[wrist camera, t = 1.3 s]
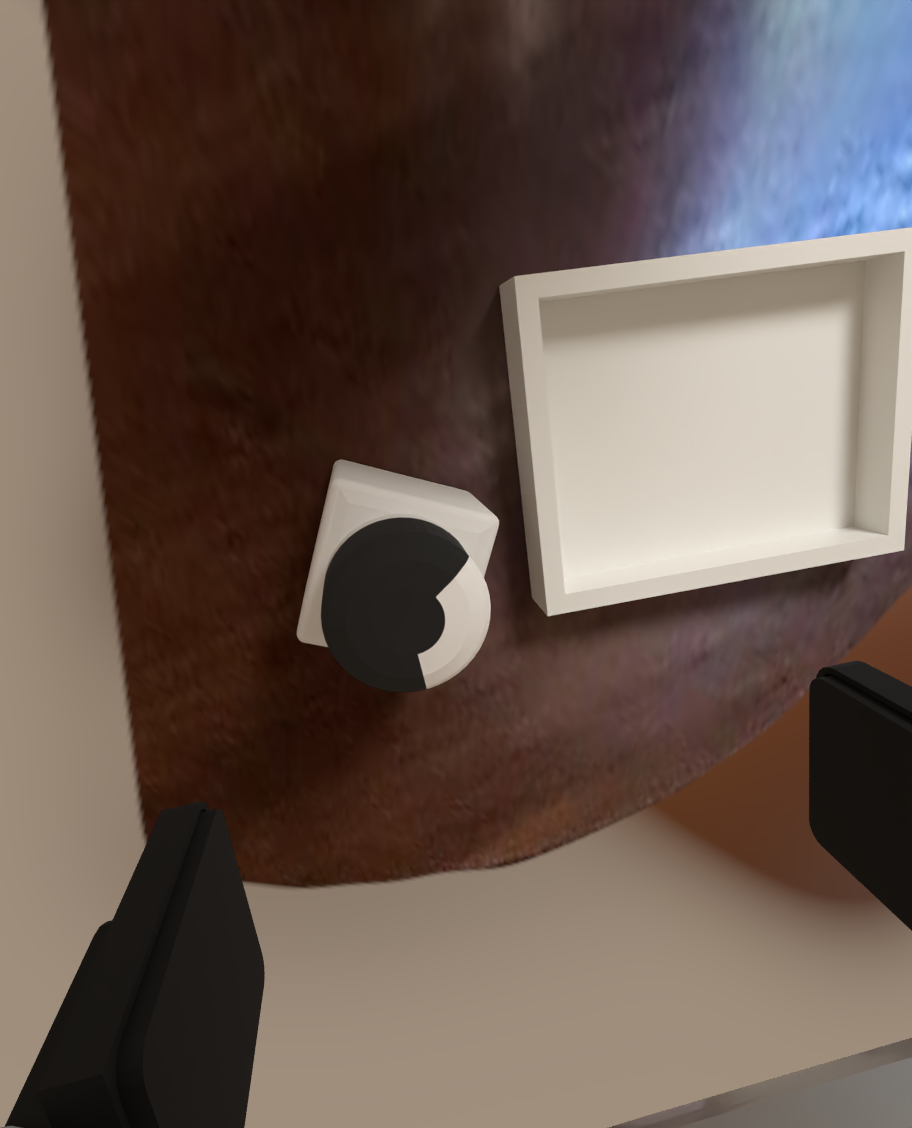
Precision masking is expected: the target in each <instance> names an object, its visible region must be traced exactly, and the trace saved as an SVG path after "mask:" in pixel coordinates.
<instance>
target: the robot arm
mask: <svg viewBox="0 0 912 1128" xmlns="http://www.w3.org/2000/svg"><path fill="white" fill-rule="evenodd" d="M809 695H810V696H809V697H810V703H809V704H810V705H809V706H810V707H809V708H810V709H809V718H810V720H809V721H810V722H809V727H810V728H809V736H810V737H809V821H810V826H811V830H812V832H813V834H814V836H815V838H816V839H817V841H818V842H819V843H820V844H821V846H822V847H823V848H825V849H826V850H827V851H828V852H829V853H830V854H831V855H832V856H833V857H834V858H835V859H836V860H837V861H838V862H839V863H840V864H841V865H842V866H844V867H845V868H846V869H847V870H848V871H849V872H850V873H851V874H852V875H853V876H854V877H855V878H856V879H857V880H858V881H859V882H861V883H862V884H863V885H864V886H865V887H866V888H867V889H868V890H869V891H870V892H871V893H872V894H874V896H875V897H877V898H878V899H879V900H880V901H881V902H882V903H883V904H884V905H885V906H886V907H887V908H888V909H889V910H891V912H892V913H894V914H895V915H896V916H897V917H898V918H899V919H900V920H901V921H902V922H903V923H904V924H905V925H906V926H907V927H909V928H910V929H911V930H912V687H911V686H909V685H907V684H905V683H903V682H901V681H899V680H897V679H895V678H893V677H891V676H889V675H888V674H885V673H884V672H882V671H880V670H878V669H876V668H874V667H872V666H870V665H868V664H866V663H864V662H860V661H852V662H847V663H842V664H838V665H833V666H829V667H824V668H822V669H821V670H819V672H818V674H817V677H816V679H814V680H813V681H812V682H811V684H810V694H809ZM263 989H264V962H263V956H262V952H261V948H260V944H259V941H258V937H257V934H256V930H255V926H254V923H253V919H252V915H251V912H250V908H249V905H248V901H247V897H246V894H245V890H244V886H243V883H242V879H241V875H240V872H239V868H238V864H237V861H236V857H235V853H234V850H233V846H232V843H231V839H230V835H229V832H228V828H227V824H226V821H225V817H224V814H223V812H222V810H221V809H219V808H218V809H214V810H210V809H209V807H208V805H207V804H206V803H205V802H204V801H202V802H198V803H193V804H188V805H184V806H179V807H175V808H170V809H165V810H163V811H162V812H161V814H160V815H159V817H158V819H157V822H156V824H155V826H154V828H153V831H152V833H151V835H150V837H149V840H148V842H147V844H146V846H145V849H144V851H143V853H142V855H141V858H140V860H139V862H138V864H137V867H136V869H135V871H134V873H133V876H132V878H131V880H130V882H129V885H128V887H127V889H126V891H125V894H124V896H123V898H122V900H121V903H120V905H119V907H118V909H117V911H116V914H115V916H114V918H113V920H112V921H108V922H106V923H104V924H103V925H101V926H100V927H99V929H98V930H97V932H96V933H95V935H94V937H93V939H92V941H91V943H90V946H89V948H88V950H87V952H86V954H85V956H84V958H83V960H82V962H81V965H80V967H79V969H78V971H77V973H76V975H75V977H74V979H73V982H72V984H71V986H70V988H69V990H68V992H67V994H66V997H65V999H64V1001H63V1003H62V1005H61V1007H60V1009H59V1012H58V1014H57V1016H56V1018H55V1020H54V1022H53V1024H52V1027H51V1029H50V1031H49V1033H48V1035H47V1037H46V1040H45V1042H44V1044H43V1046H42V1048H41V1050H40V1052H39V1054H38V1057H37V1059H36V1061H35V1063H34V1065H33V1068H32V1070H31V1072H30V1074H29V1076H28V1078H27V1080H26V1082H25V1084H24V1087H23V1089H22V1091H21V1093H20V1095H19V1097H18V1099H17V1102H16V1104H15V1106H14V1108H13V1110H12V1112H11V1114H10V1116H9V1119H8V1121H7V1123H6V1125H5V1127H2V1128H244V1126H245V1118H246V1111H247V1103H248V1097H249V1090H250V1083H251V1075H252V1068H253V1061H254V1054H255V1046H256V1039H257V1031H258V1025H259V1017H260V1010H261V1003H262V996H263ZM609 1128H912V1038H909V1039H906V1040H902V1041H899V1042H896V1043H892V1044H889V1045H886V1046H882V1047H879V1048H875V1049H872V1050H869V1051H865V1052H862V1053H858V1054H855V1055H851V1056H848V1057H845V1058H841V1059H838V1060H834V1061H831V1062H828V1063H824V1064H821V1065H817V1066H814V1067H811V1068H807V1069H804V1070H800V1071H797V1072H794V1073H790V1074H787V1075H783V1076H780V1077H777V1078H773V1079H770V1080H766V1081H764V1082H760V1083H756V1084H753V1085H750V1086H746V1087H743V1088H739V1089H736V1090H733V1091H729V1092H726V1093H723V1094H719V1095H716V1096H712V1097H709V1098H706V1099H703V1100H699V1101H696V1102H692V1103H689V1104H686V1105H682V1106H679V1107H675V1108H672V1109H669V1110H665V1111H662V1112H659V1113H655V1114H652V1115H648V1116H645V1117H642V1118H639V1119H635V1120H632V1121H629V1122H625V1123H622V1124H619V1125H616V1126H612V1127H609Z"/></svg>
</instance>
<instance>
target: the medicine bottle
mask: <svg viewBox="0 0 912 1128" xmlns="http://www.w3.org/2000/svg"><path fill="white" fill-rule="evenodd" d="M498 527H499V520H498V518H497V517H496V516H495V515H494V514H493V513H492V512H491V511H490V510H488V509H487V508H486V507H485V506H484V505H483V504H482V503H481V502H480V501H478V500H477V499H476V498H475V497H474V496H473V495H472V494H471V493H469V492H468V491H465V490H461V489H457V488H453V487H449V486H445V485H441V484H437V483H433V482H429V481H425V480H421V479H417V478H413V477H410V476H406V475H402V474H398V473H394V472H390V471H386V470H382V469H378V468H374V467H370V466H366V465H362V464H358V463H354V462H350V461H346V460H337V461H336V462H335V463H334V465H333V470H332V474H331V478H330V483H329V487H328V491H327V496H326V500H325V505H324V509H323V513H322V518H321V522H320V527H319V531H318V535H317V540H316V544H315V549H314V553H313V557H312V562H311V566H310V570H309V575H308V579H307V584H306V588H305V593H304V598H303V603H302V608H301V613H300V618H299V623H298V628H297V637H298V639H299V640H300V641H301V642H304V643H309V644H314V645H319V646H325V647H328V648H329V650H330V652H331V653H332V655H333V656H334V658H335V660H336V661H337V662H338V663H339V664H340V665H341V667H342V668H343V669H344V670H346V671H347V672H348V673H349V674H350V675H351V676H353V677H354V678H356V679H357V680H359V681H360V682H363V683H365V684H367V685H369V686H371V687H374V688H378V689H381V690H386V691H391V692H414V691H420V690H424V689H428V688H431V687H434V686H437V685H439V684H441V683H443V682H445V681H447V680H449V679H450V678H452V677H453V676H455V675H456V674H458V673H459V672H460V671H461V670H462V669H464V668H465V667H466V666H467V665H468V664H469V662H470V661H471V660H472V659H473V658H474V656H475V655H476V654H477V652H478V651H479V649H480V647H481V645H482V643H483V641H484V639H485V636H486V633H487V630H488V627H489V621H490V610H491V605H490V596H489V592H488V588H487V584H486V582H485V580H484V575H485V572H486V568H487V565H488V561H489V558H490V554H491V551H492V548H493V544H494V541H495V537H496V534H497V530H498Z"/></svg>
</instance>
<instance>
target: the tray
mask: <svg viewBox="0 0 912 1128" xmlns="http://www.w3.org/2000/svg"><path fill="white" fill-rule="evenodd" d="M499 290H500V299H501V309H502V318H503V328H504V337H505V347H506V356H507V366H508V375H509V385H510V394H511V404H512V413H513V423H514V432H515V442H516V451H517V461H518V470H519V480H520V489H521V499H522V509H523V518H524V528H525V537H526V547H527V556H528V566H529V575H530V585H531V594H532V599H533V600H534V601H535V602H536V603H537V604H538V606H539V607H540V608H541V609H542V610H543V611H544V613H545V614H546V615H547V616H552V615H558V614H563V613H568V612H574V611H579V610H585V609H590V608H595V607H601V606H606V605H611V604H617V603H622V602H628V601H633V600H638V599H644V598H649V597H655V596H660V595H665V594H671V593H676V592H681V591H687V590H692V589H698V588H703V587H708V586H714V585H719V584H725V583H730V582H735V581H741V580H746V579H752V578H757V577H762V576H768V575H773V574H778V573H784V572H789V571H795V570H800V569H805V568H811V567H816V566H822V565H827V564H832V563H838V562H843V561H848V560H854V559H859V558H865V557H870V556H875V555H881V554H886V553H892V552H897V551H902V550H904V542H905V527H906V511H907V496H908V481H909V466H910V451H911V435H912V227H911V228H903V229H895V230H887V231H878V232H870V233H862V234H854V235H846V236H838V237H830V238H822V239H813V240H805V241H797V242H789V243H781V244H773V245H765V246H757V247H748V248H740V249H732V250H724V251H716V252H708V253H700V254H692V255H683V256H675V257H667V258H659V259H651V260H643V261H635V262H627V263H618V264H610V265H602V266H594V267H586V268H578V269H570V270H562V271H553V272H545V273H537V274H529V275H521V276H514V277H512V278H511V279H509V280H508V281H506V282H505V283H503V284H501V285H500V286H499Z"/></svg>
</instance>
